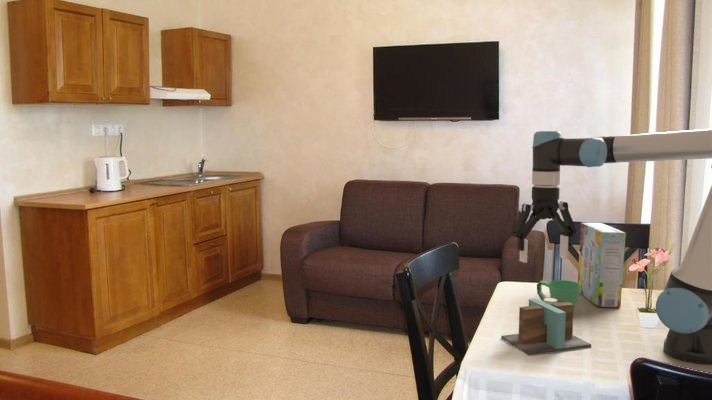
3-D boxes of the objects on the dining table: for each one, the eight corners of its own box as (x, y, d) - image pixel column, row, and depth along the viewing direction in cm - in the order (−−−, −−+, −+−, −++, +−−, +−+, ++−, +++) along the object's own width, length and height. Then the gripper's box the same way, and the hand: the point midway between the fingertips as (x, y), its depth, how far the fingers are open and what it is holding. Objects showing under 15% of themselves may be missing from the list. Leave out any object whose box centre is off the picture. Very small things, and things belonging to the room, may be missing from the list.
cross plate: (564, 347, 175) (565, 312, 173) (556, 348, 174) (558, 313, 173) (535, 331, 188) (536, 298, 187) (527, 332, 187) (528, 299, 186)
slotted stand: (591, 347, 177) (593, 309, 176) (528, 355, 171) (530, 316, 170) (560, 331, 190) (561, 295, 189) (501, 338, 184) (502, 302, 183)
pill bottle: (560, 326, 195) (561, 299, 194) (553, 329, 192) (554, 302, 191) (545, 322, 198) (546, 296, 197) (538, 326, 195) (539, 299, 194)
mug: (585, 314, 207) (586, 284, 205) (570, 320, 200) (571, 289, 199) (544, 304, 217) (545, 276, 216) (528, 310, 211) (529, 281, 209)
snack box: (623, 308, 213) (627, 232, 210) (597, 308, 213) (600, 232, 210) (599, 290, 235) (602, 221, 231) (575, 290, 235) (578, 221, 231)
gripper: (573, 183, 188) (571, 253, 190) (499, 186, 180) (498, 260, 182) (591, 185, 181) (588, 258, 183) (514, 189, 173) (513, 266, 175)
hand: (543, 260), depth 183 cm, fingers open, 13 cm apart
